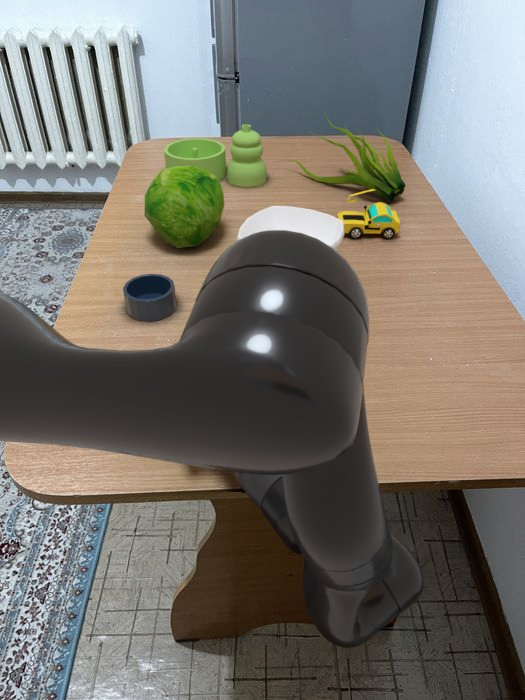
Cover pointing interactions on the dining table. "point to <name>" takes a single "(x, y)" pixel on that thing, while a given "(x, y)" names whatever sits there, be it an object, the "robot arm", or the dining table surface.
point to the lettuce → (184, 205)
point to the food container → (222, 157)
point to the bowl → (295, 224)
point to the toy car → (370, 220)
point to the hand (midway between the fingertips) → (199, 373)
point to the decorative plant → (367, 169)
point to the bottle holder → (150, 297)
